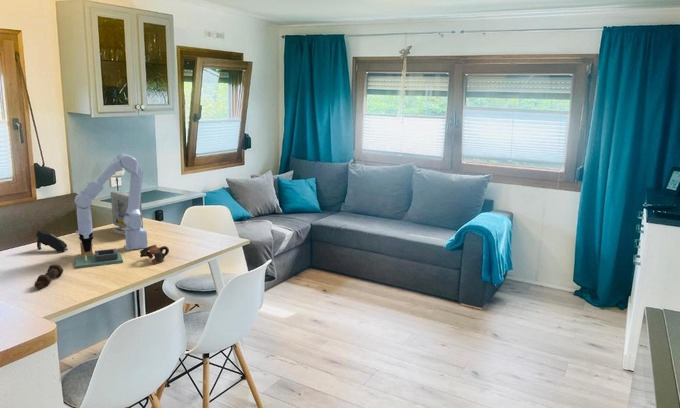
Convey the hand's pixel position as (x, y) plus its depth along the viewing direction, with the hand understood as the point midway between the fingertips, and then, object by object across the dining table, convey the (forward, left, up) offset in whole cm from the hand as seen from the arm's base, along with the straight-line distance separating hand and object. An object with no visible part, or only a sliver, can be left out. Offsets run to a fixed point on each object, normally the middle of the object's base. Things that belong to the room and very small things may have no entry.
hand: (87, 250), depth 228 cm
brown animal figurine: (-26, +22, -2) cm, 34 cm away
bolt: (+15, +32, -2) cm, 35 cm away
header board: (-4, +12, -2) cm, 13 cm away
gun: (+14, -13, -2) cm, 19 cm away
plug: (0, 0, -2) cm, 2 cm away
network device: (-20, -34, -2) cm, 40 cm away
